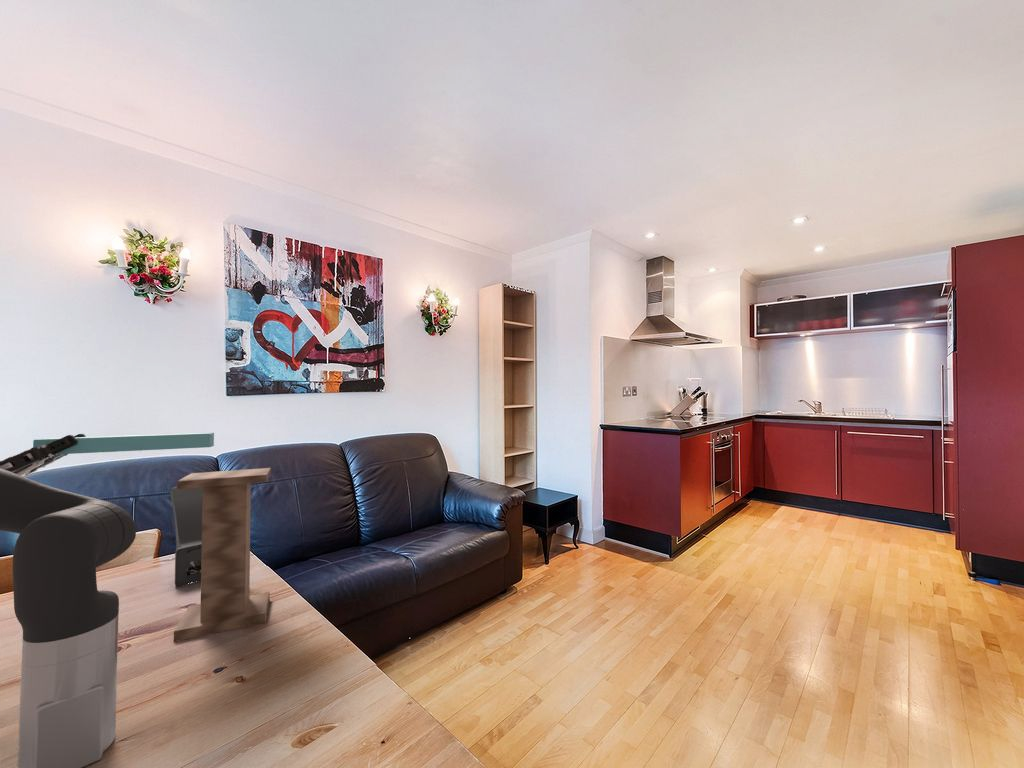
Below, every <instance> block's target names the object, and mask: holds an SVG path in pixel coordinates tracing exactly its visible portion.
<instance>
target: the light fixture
mask: <svg viewBox="0 0 1024 768" xmlns="http://www.w3.org/2000/svg"><path fill="white" fill-rule="evenodd" d="M170 498H171V499H170V500H171V504H172V510H173V516H174V517H173V518H174V527H175V542H176V543H175V545H176V549H175V551H174V552H175V553H174V585H175V587H177V588H180V587H183V585H184V586H187V584H188V583H189V584H188V585H191V584H190V583H191V582H196V581H197V582H196V583H198V581H200V582H201V555H202V499H203V487H199V488H187V489H177V486H174V487H172V488H171V491H170ZM179 586H180V587H179Z"/></svg>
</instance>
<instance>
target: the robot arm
mask: <svg viewBox="0 0 1024 768" xmlns="http://www.w3.org/2000/svg"><path fill="white" fill-rule="evenodd" d="M75 437H87V435H86V434H85V433H78V434H76V435H72V434H68V435H65V436H63V437H60V438H61V439H58V440H56V441H54V442H52V443H50V444H47V445H48V446H47V445H41V446H40V447H38V448H37V447H35V448H34V447H31V448H30V449H26V450H24V451H22V452H20V453H18V454H15V455H11V456H9V457H7V458H5V459H3V460H0V531H3V532H9V533H15V534H19V535H18V537H17V539H16V541H15V544H14V548H13V554H12V588H13V609H14V614H15V617H16V619H17V621H18V623H19V624H20V625H21V629H22V641H21V642H22V647H21V666H20V667H21V669H20V671H21V672H20V695H19V718H18V719H19V721H18V722H19V723H18V749H17V751H18V752H17V753H18V754H17V768H84V767H86V766H89V765H90V764H93V763H95V762H97V761H100V760H102V759H103V754H104V752H105V751H106V750H107V749H108V748H109V747H110V746H111V745H112V744H113V742H114V741H115V738H116V728H117V725H116V724H117V722H116V721H117V720H116V719H117V718H116V717H117V688H118V687H117V685H118V684H117V678H118V651H119V650H118V643H119V642H118V641H119V614H120V613H119V611H120V599H119V595H118V593H116V592H114V591H112V590H98V585H97V584H98V583H97V582H98V581H97V568H99V567H100V566H103V565H105V564H107V563H109V562H111V561H113V560H115V559H116V558H118V557H119V556H121V555H122V554H124V553H125V552H126V551H127V550H129V548H130V547H131V546H132V545H133V543H134V541H135V540H136V536H137V527H136V522H135V520H134V518H133V516H132V515H130V513H129V512H128V511H127V510H126V509H125V508H122V507H121V506H119V505H118V504H115V503H113V502H110V501H107V500H103V499H99V498H95V497H92V496H91V497H90V496H87V495H83V494H79V493H76V492H75V493H74V492H71V491H68V490H63V489H60V488H58V487H57V488H56V487H53V486H51V485H46V484H43V483H41V482H38V481H36V480H32V479H30V478H27V476H29V475H31V474H33V473H35V472H37V471H38V470H40V469H42V468H45V467H46V466H48V465H50V464H52V463H55V461H57V460H60V459H61V458H64V457H66V456H69V454H57V453H59V452H62V451H64V450H66V449H68V448H70V447H72V446H74V445H76V444H77V443H78V442H77V440H76V439H75ZM53 453H54V454H55V455H54V454H53Z"/></svg>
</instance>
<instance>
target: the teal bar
mask: <svg viewBox="0 0 1024 768" xmlns="http://www.w3.org/2000/svg"><path fill="white" fill-rule="evenodd" d="M214 437H215V433H214V432H194V433H191V432H190V433H170V434H169V433H166V434H165V433H164V434H163V433H162V434H141V435H140V434H137V435H135V434H134V435H111V436H110V435H109V436H108V435H107V436H106V435H105V436H86V437H75V439H76V440H77V442H78V443H77V444H76V445H74V446H72V447H70V448H68V449H66V450H64V451H62V452H59V453H57V454H68V455H72V454H92V453H113V452H115V453H116V452H137V451H138V452H139V451H140V452H141V451H161V450H162V451H163V450H177V449H179V450H180V449H200V448H204V449H205V448H212V447H214V446H215V438H214ZM61 438H62V437H50V438H45V437H44V438H38V439H33V441H32V442H33V443H32V444H33V445H32V446H33V447H34V448H35V447H37V448H38V447H40V446H41V445H47V444H50V443H52V442H54V441H56V440H58V439H61ZM47 446H48V445H47ZM33 447H32V448H33ZM53 454H54V453H53ZM57 454H56V455H57ZM54 455H55V454H54Z"/></svg>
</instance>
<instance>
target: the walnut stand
mask: <svg viewBox="0 0 1024 768" xmlns="http://www.w3.org/2000/svg"><path fill="white" fill-rule="evenodd" d="M271 475H272V467H264V468H263V467H262V468H261V467H260V468H251V469H250V468H249V469H235V470H234V469H233V470H222V471H221V470H220V471H219V470H218V471H205V472H193V473H192V472H191V473H189V474H188V475H186V476H184V477H182V478H181V479H179V480H177V481H176V487H177V489H187V488H199V487H203V499H202V555H201V581H200V604H195V605H190V606H189V605H188V607H187V609H185V610H186V611H185V612H184V613H183V615H182V616H181V618H180V620H179V622H178V624H177V626H176V628H175V629H174V631H173V642H177V641H183V640H187V639H191V638H196V637H198V638H199V637H201V636H202V637H203V636H207V635H210V634H211V635H212V634H216V633H221V632H227V631H230V630H235V629H236V630H237V629H241V628H246V627H249V626H257V625H260V624H265V623H266V620H267V616H268V609H269V604H270V591H266V592H261V593H256V594H251V595H250V582H251V581H250V579H251V578H250V577H251V570H250V569H251V568H250V567H251V566H250V565H251V562H250V561H251V506H252V503H251V502H252V500H251V499H252V497H251V496H252V495H251V494H252V493H251V491H252V488H251V487H252V484H256V483H258V484H259V483H267V482H268V481H269V478H270V477H271Z"/></svg>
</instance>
